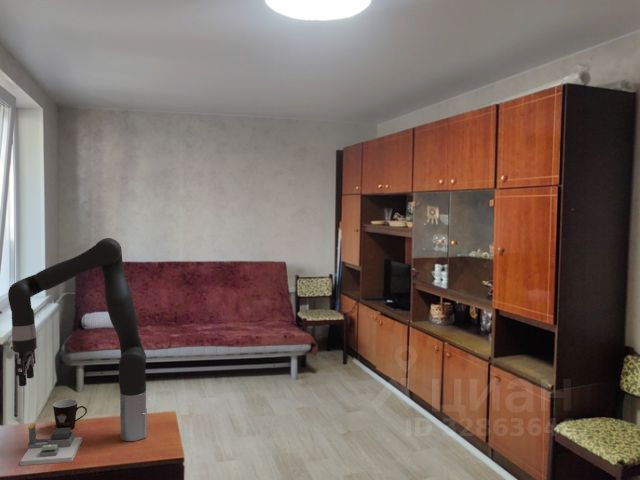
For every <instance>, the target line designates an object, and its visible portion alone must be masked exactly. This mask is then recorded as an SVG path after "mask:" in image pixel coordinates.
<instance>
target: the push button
mask: <svg viewBox="0 0 640 480" xmlns="http://www.w3.org/2000/svg"><path fill="white" fill-rule="evenodd" d="M71 432H72V430H71V428H56V427H55V428H54V430H53V432H52V433H51V435H52V441H53V440H67V439H69V437H70V436H71Z"/></svg>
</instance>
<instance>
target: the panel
mask: <svg viewBox="0 0 640 480" xmlns="http://www.w3.org/2000/svg"><path fill="white" fill-rule="evenodd" d="M36 439H37V443H36V444H31V445H29V446H28V450H27V451H26V452H25V453H24V455H23V457H22V458H21V459H20V465H22V466H33V464H34V465H44V464H56V463H58V464H59V463H71V462H73V460H74V459H75V456H76V454H77V453H78V450H79V448H80V445H81V444H82V441H83V437H82V436H81V437H80V436H79V437H75V431H71V436H70V437H69V439H67V440H53V441H52V434H51V436H50V437H46V438H45V437H44V438H36ZM53 444H57V448H56V449H54V450H41V447H42V446H43V445H53Z"/></svg>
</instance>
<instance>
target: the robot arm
mask: <svg viewBox="0 0 640 480" xmlns="http://www.w3.org/2000/svg"><path fill="white" fill-rule="evenodd" d="M122 250H123V249H122V246H121V244H120V243H119V242H118V241H117V240H116V239H114V238H110V237H106V238H103V239H101V240H99V241H98V242H96V244H95V245H93V246H92V247H90V248H89V249H88V250H86V251H84V252H82V253H80V254H78V255H76V256H74V257H72V258H69V259H66V260H64V261H60V262H58V263H55V264H53V265H51V266H49V267H47V268H44V269H43V270H40V271H39V272H37V273H35V274H32V275H30V276H29V275H28V276H27V277H25V278H23V279H20V280H17V281H16V282H14V283H13V284H11V285H10V287H9V289H8V292H7V297H8V302H9V303H8V304H9V308H10V312H11V342H12V343H11V344H12V345H11V346H12V352H14V353H18V357H17V358H15V360H14V363H15V364H14V365H15V370H14V371H15V376H17V377H18V385H19V387H25V386H27V384H28V383H27V379H33V378H34V375H35V374H34V373H35V372H34V370H35V369H34V368H35V365H36V363H37V362H36V349H37V348H38V346H37V345H38V343H37V328H36V323H35V322H36V321H35V311H34V308H32V301H31V300H32V299H31V298H32V297H34V296H35V295H38V294H40V293H42V292H43V291H47V290H51V289H53V288H55V287H57V286H59V285H61V284H63V283H65V282H67V281H70V280H71V279H73V278H75V277H77V276H79V275H80V274H83V273H86V272H88V271H90V270H93V269H97V268H101V271H102V274H103V279H104V295H105V296H104V297H105V304H106V308H107V313H108V316H109V320H110V322H111V324H112V327H113V329H114V330H115V333H116V336H117V338H118V342H119V349H120V359H119V363H118V382H119V385H118V386H119V412H120V414H119V417H120V419H119V421H120V422H119V423H120V427H119V428H120V435H119V437H120V439H121V440H122V441H126V442H135V441H140V440H143V439H146V438H147V433H148V409H147V382H146V381H147V380H146V363H147V354H146V351H145V349H144V346H143V344H142V340H141V337H140V334H139V329H138V322H137V320H138V319H137V315H136V309H135V304H134V300H133V297H132V292H131V289H130V286H129V283H128V280H127V277H126V274H125V268H124V263H123V253H122V252H123V251H122Z"/></svg>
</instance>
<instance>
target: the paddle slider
mask: <svg viewBox="0 0 640 480" xmlns="http://www.w3.org/2000/svg"><path fill="white" fill-rule="evenodd" d="M30 423H31V422H30ZM36 424H37V423H34V422H33V423H31V424H29V426H28V439H29V440H28V444H27V446H28V447H29V445H31V444H36V443H37V439H38V438H36V434H37V433H36Z"/></svg>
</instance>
